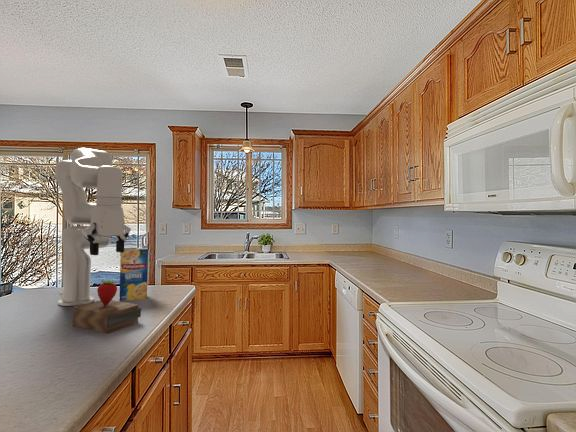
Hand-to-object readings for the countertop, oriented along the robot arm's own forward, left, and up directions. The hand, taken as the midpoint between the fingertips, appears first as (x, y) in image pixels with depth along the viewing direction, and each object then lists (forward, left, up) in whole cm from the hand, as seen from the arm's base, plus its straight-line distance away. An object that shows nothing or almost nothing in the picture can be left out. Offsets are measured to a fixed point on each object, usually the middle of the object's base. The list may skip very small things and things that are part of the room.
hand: (107, 253), depth 110 cm
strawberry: (0, 0, -18) cm, 18 cm away
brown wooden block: (0, 0, -24) cm, 24 cm away
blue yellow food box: (-20, +29, -24) cm, 42 cm away
